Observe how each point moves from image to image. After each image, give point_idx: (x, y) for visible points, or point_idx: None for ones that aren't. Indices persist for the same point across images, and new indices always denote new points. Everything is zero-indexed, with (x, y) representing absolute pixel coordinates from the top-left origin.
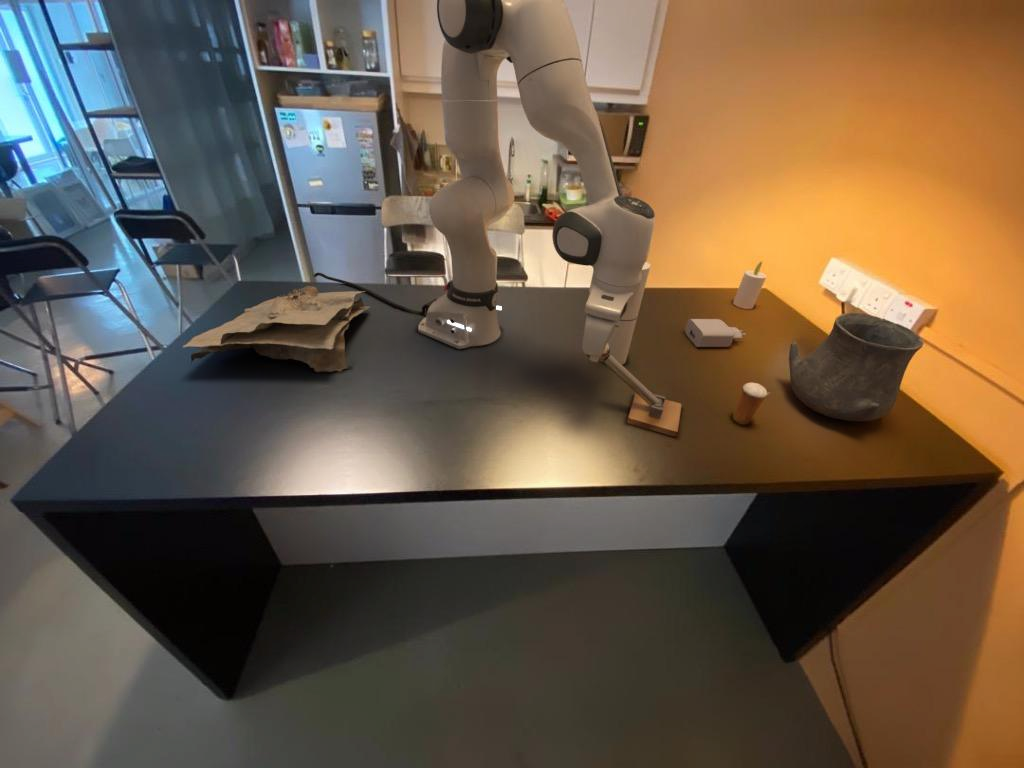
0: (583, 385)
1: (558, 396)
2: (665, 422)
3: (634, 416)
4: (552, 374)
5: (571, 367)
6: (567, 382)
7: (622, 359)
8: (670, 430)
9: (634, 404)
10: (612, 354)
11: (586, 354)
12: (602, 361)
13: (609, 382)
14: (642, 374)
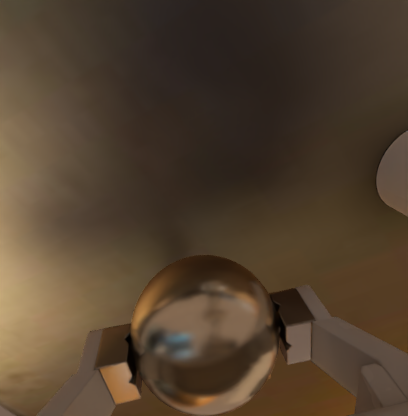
0: (228, 160)
1: (121, 119)
2: None
3: None
4: (227, 31)
5: (307, 76)
6: (213, 107)
7: (403, 213)
8: None
9: None
10: (406, 193)
11: (154, 276)
12: (385, 153)
13: (285, 215)
14: (363, 265)
